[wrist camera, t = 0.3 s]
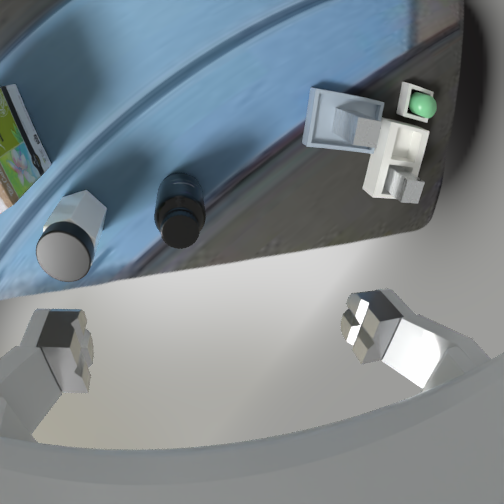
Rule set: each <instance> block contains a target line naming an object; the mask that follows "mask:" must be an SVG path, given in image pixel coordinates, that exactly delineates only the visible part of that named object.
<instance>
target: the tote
mask: <svg viewBox="0 0 504 504" xmlns="http://www.w3.org/2000/svg"><path fill="white" fill-rule="evenodd" d="M335 108H341V109H347V110H352V111H358V112H360V113H363V114H365V115H367V116H370V117H372V118H374V119H377V120H379V121H381V118H382V113H383V108H384V102H381V101H378V100H374V99H370V98H365V97H361V96H356V95H351V94H346V93H341V92H336V91H331V90H325V89H319V88H313V87H311V88H310V95H309V102H308V108H307V115H306V121H305V128H304V134H303V141H302V143H303V144H304V145H306V146H307V147H318V148H329V149H338V150H347V151H355V152H363V153H370V154H374V150H375V148H372V147H365V146H358V145H352V144H351V143H349V142H347V141H346V140H344V139H342V138H341V137H339V136H337V135H336V134H334V133H332V132H331V130H332V124H333V119H334V113H335Z"/></svg>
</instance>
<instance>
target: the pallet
mask: <svg viewBox="0 0 504 504" xmlns="http://www.w3.org/2000/svg"><path fill="white" fill-rule="evenodd" d="M381 122H382V125H381V129H380V134H379V139H378V143H377V147H376V148H375V150H374V154H371V156H370V160H369V164H368V168H367V173H366V177H365V181H364V185H363V189H364V190H365V191H366V192H367V193H368V194H369V195H371V196H372V197H376V198H392V199H396V198H395V197H394V196H393V195H391V194H390V193H389V192H388V191H386V190H385V189H384V188H383V187H384V183H385V179H386V176H387V172H388V168H389V165H396V166H402V167H403V168H405V169H406V170H408V171H409V172H411V173H412V174H414V175H415V176H417V177H418V173H419V170H420V166H421V163H422V159H423V155H424V151H425V148H426V144H427V140H428V136H429V132H430V131H428V130H425V129H423V128H421V127H419V126H416V125H412V124H408V123H404V122H400V121H396V120H392V119H387V118H383V117H382V118H381Z"/></svg>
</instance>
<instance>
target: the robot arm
mask: <svg viewBox="0 0 504 504" xmlns="http://www.w3.org/2000/svg"><path fill="white" fill-rule="evenodd" d="M346 304H347V306H348V308H349V309H348V310H347V311H346V312H345V313H344V314H343V316H342V319H341V332H342V335H343V337H344V338H345V340H346V341H347V342H349V343H350V344H352V345H353V352H354V354H355V355H356V357H357V358H358V360H359V361H360V363H361V364H365V363H370V362H374V361H379V360H382V361H383V362H384V363H386V364H387V365H389V366H390V367H392V368H393V369H394V370H396V371H397V372H399V373H400V374H402V375H403V376H405V377H406V378H408V379H409V380H411V381H412V382H414V383H415V384H417V385H418V386H419V387H421V388H423V389H422V391H421V392H420V393H419V394H417V395H414V396H412V397H409V398H407V399H404V400H401V401H399V402H396V403H393V404H391V405H388V406H385V407H382V408H379V409H376V410H374V411H370V412H367V413H364V414H361V415H358V416H354V417H351V418H348V419H344V420H341V421H337V422H334V423H330V424H326V425H322V426H318V427H314V428H310V429H306V430H302V431H297V432H292V433H288V434H283V435H278V436H273V437H267V438H261V439H256V440H250V441H244V442H236V443H229V444H221V445H211V446H201V447H191V448H175V449H154V450H153V449H149V450H118V449H117V450H116V449H93V448H79V447H67V446H58V445H50V444H42V443H38V442H37V441H36V440H35V438H34V437H33V436H32V435H31V434H32V433H33V432H34V430H35V429H36V427H37V426H38V425H39V423H40V422H41V421H42V419H43V418H44V417H45V416H46V414H47V413H48V412H49V410H50V409H51V408H52V406H53V405H54V404H55V403H56V401H57V400H58V399H59V397H60V396H61V395H62V392H66V393H67V392H68V393H88V392H89V385H90V378H91V374H90V372H89V369H88V367H89V366H91V365H92V364H93V357H94V352H93V341H92V337H91V333H90V332H89V331H88V330H87V329H86V324H87V319H86V316H85V312H84V311H83V310H79V309H36V310H35V311H34V313H33V315H32V317H31V320H30V322H29V324H28V327H27V329H26V332H25V334H24V336H23V339H22V341H21V344H20V346H15V347H14V348H12V349H11V350H10V351H9V352H7V353H6V354H5V355H4V356H2V357H1V358H0V504H504V353H502V354H500V355H498V356H497V357H495V358H493V359H490V358H489V356H488V355H487V354H486V353H485V352H484V351H483V350H482V349H481V348H480V347H479V346H478V344H477V343H476V342H475V341H474V340H473V339H472V338H470V337H467V336H465V335H463V334H461V333H459V332H457V331H454V330H452V329H450V328H448V327H446V326H444V325H441V324H439V323H437V322H435V321H432V320H430V319H428V318H426V317H424V316H422V315H416V314H415V313H414V312H413V311H412V310H411V309H410V308H409V307H408V306H407V305H406V304H405V303H404V302H403V301H402V299H400V298H399V296H398V295H397V294H396V293H395V292H394V291H393V290H391V289H389V288H385V289H379V290H375V291H367V292H360V293H352V294H351V295H350V296H349V297H348V300H347V303H346Z"/></svg>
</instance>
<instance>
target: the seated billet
mask: <svg viewBox="0 0 504 504" xmlns="http://www.w3.org/2000/svg"><path fill="white" fill-rule="evenodd" d="M424 183H425V182H424V181H423V180H421V179H420V178H418V177H417V176H415V175H414V174H412V173H411V172H409V171H408V170H406V169H405V168H403V167H402V166H396V165H389V168H388V172H387V176H386V179H385V183H384V187H383V188H384V189H385V190H386V191H388V192H389V193H390V194H391V195H393V196H394V197H395V198H396V199H398V200H399V201H400V202H404V203H418V202H419V199H420V196H421V192H422V189H423V186H424Z"/></svg>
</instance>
